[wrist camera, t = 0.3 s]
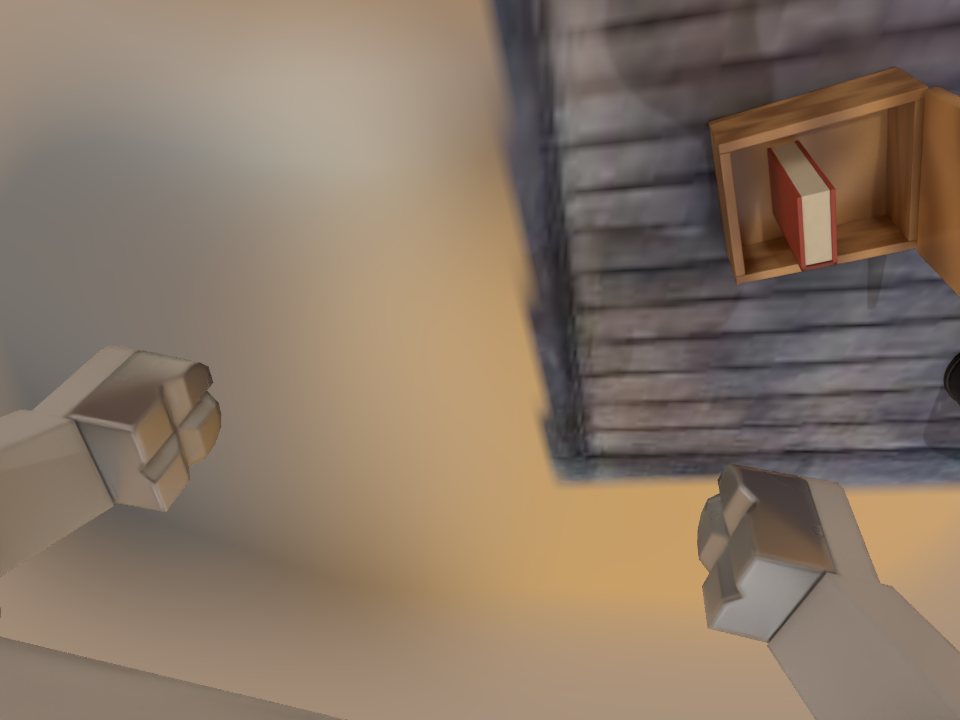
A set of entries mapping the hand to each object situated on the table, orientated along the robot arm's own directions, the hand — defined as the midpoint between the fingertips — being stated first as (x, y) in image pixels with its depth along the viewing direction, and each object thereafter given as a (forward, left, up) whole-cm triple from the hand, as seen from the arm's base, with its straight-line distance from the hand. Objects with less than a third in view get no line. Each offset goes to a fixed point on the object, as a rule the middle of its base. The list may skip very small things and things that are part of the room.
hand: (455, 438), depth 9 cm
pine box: (+10, +21, -48) cm, 53 cm away
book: (+11, +19, -47) cm, 52 cm away
